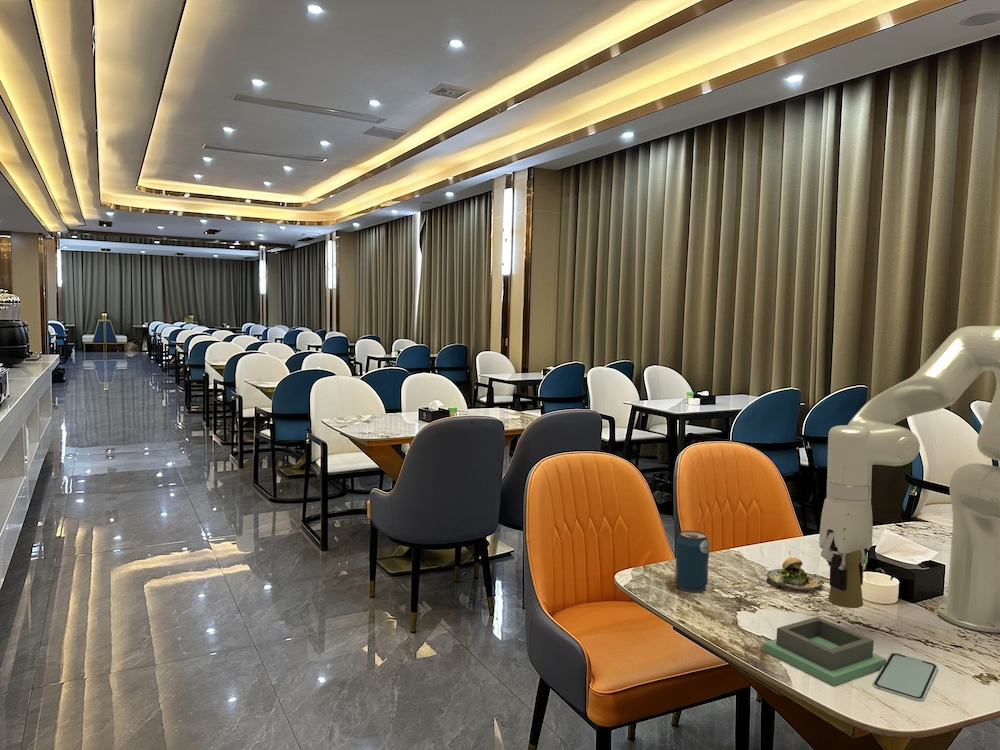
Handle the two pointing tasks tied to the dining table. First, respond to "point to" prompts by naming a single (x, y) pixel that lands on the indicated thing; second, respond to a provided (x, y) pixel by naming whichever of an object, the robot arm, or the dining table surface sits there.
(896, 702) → the dining table surface
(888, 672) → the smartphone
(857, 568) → the olive brown pawn
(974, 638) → the dining table surface
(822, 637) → the socket board
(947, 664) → the dining table surface
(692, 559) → the soda can
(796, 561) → the burger
